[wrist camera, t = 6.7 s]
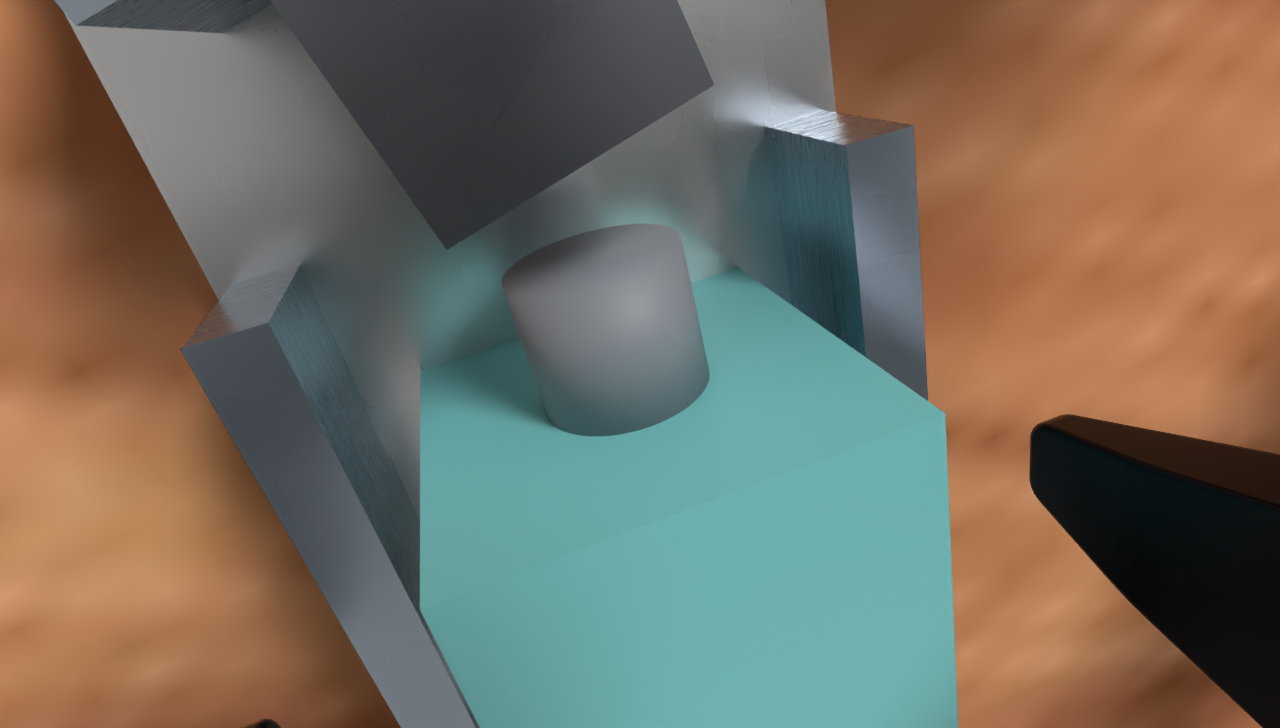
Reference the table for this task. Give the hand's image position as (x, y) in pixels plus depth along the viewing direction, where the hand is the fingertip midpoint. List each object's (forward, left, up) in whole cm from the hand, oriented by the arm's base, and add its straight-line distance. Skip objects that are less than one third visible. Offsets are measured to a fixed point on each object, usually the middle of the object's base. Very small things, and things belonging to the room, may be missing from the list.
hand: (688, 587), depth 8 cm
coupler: (0, 0, -3) cm, 3 cm away
